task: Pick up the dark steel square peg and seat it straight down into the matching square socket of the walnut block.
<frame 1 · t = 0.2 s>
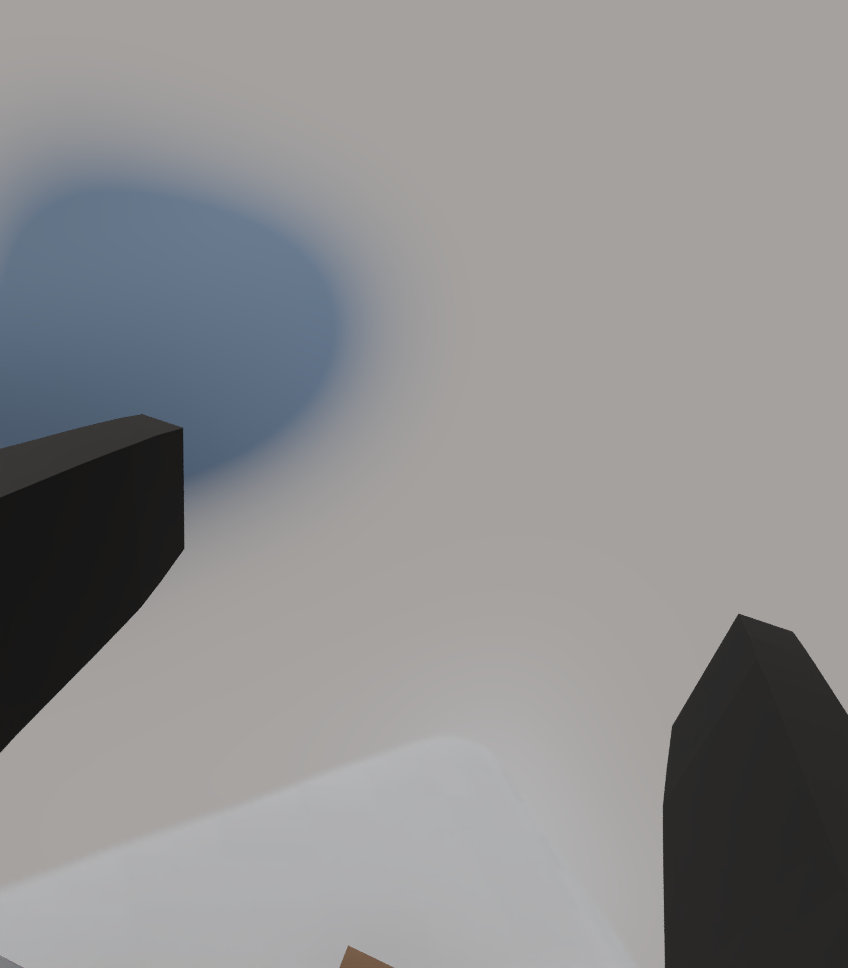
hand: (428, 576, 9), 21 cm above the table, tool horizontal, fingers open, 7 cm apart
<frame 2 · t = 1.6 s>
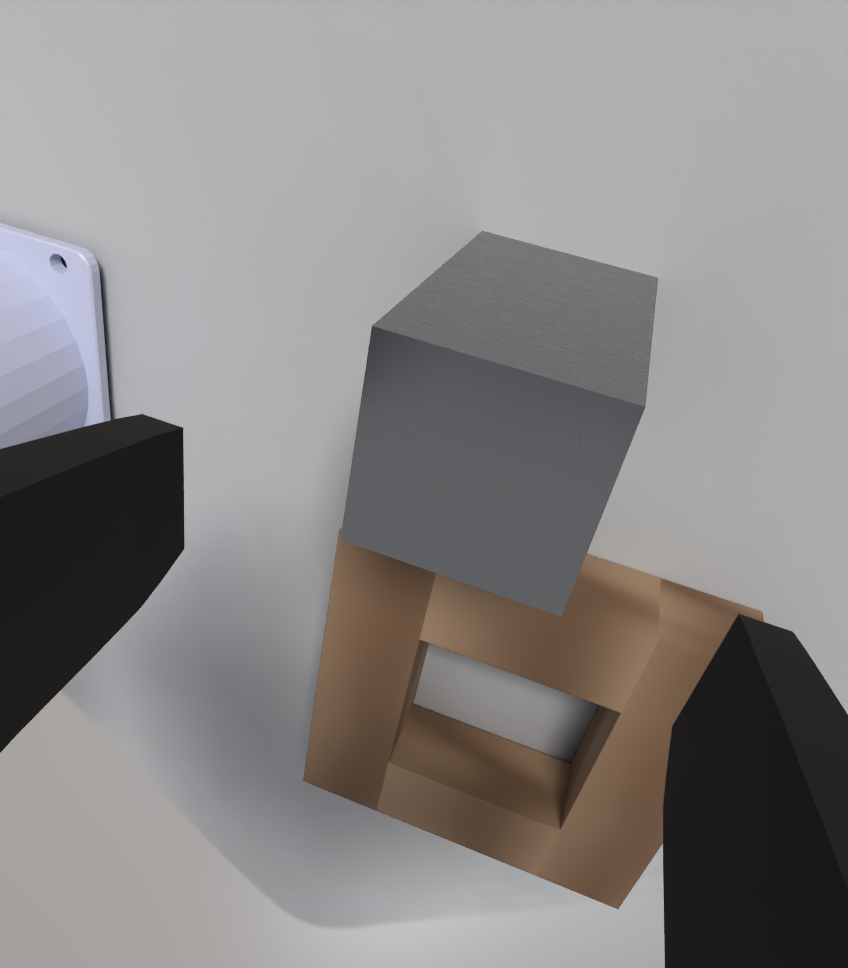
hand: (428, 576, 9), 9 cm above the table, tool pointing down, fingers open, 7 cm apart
peg: (543, 337, 17), on the table
socket block: (510, 678, 22), on the table
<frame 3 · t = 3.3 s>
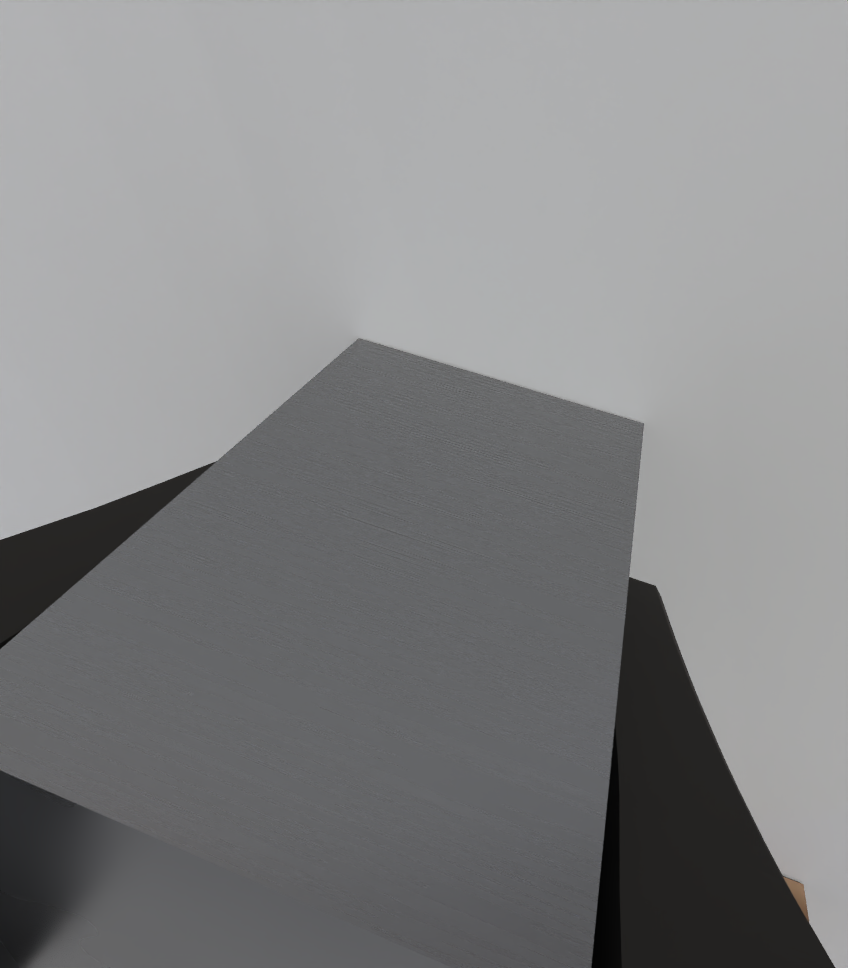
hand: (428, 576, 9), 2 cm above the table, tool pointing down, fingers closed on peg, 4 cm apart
peg: (465, 499, 11), on the table, touching gripper
socket block: (446, 910, 16), on the table
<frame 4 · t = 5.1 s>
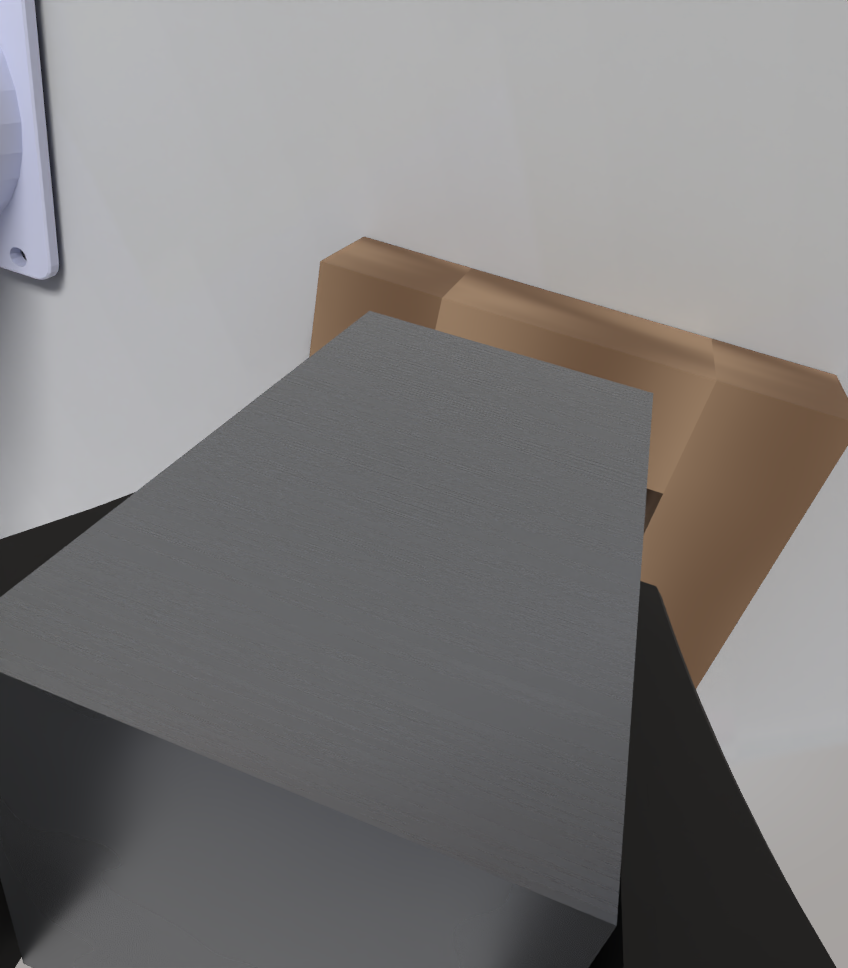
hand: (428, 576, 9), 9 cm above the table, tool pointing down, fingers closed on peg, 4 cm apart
peg: (474, 473, 11), point 7 cm above the table, touching gripper
socket block: (522, 497, 19), on the table
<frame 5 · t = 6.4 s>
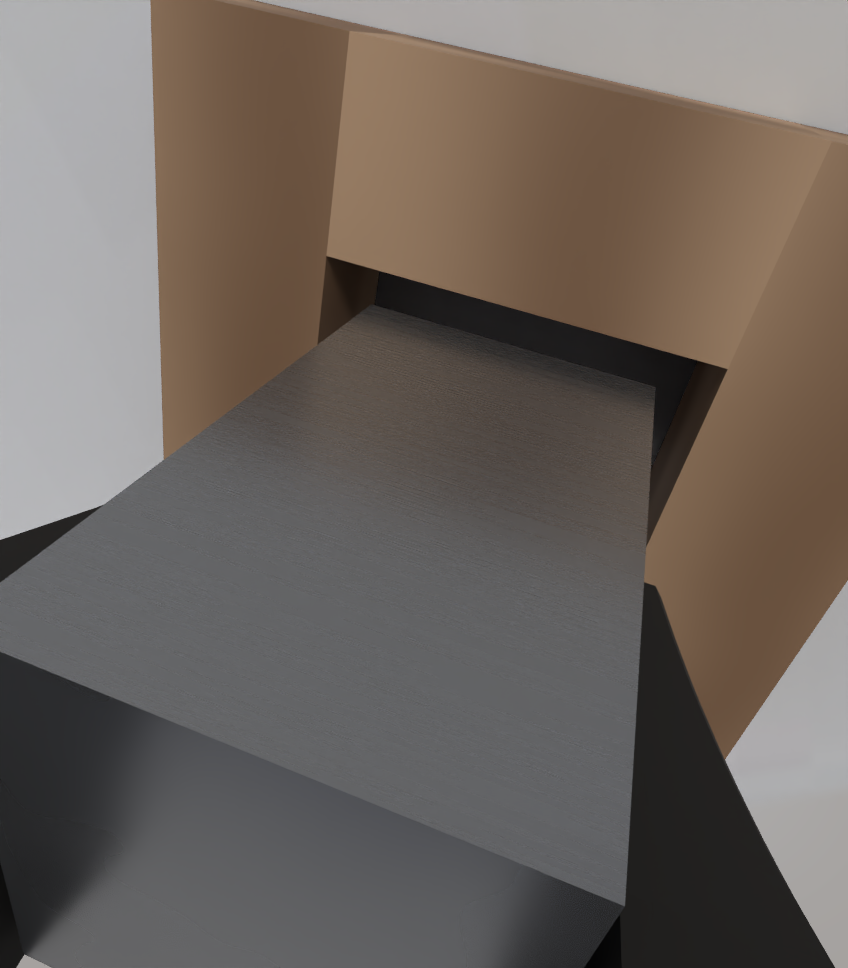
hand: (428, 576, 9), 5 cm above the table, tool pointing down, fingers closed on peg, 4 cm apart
peg: (476, 468, 11), point 3 cm above the table, touching gripper
socket block: (505, 414, 13), on the table
when the fingers open (4 cm above the table, at t = 7.2 s): peg drops 1 cm, resting in socket block.
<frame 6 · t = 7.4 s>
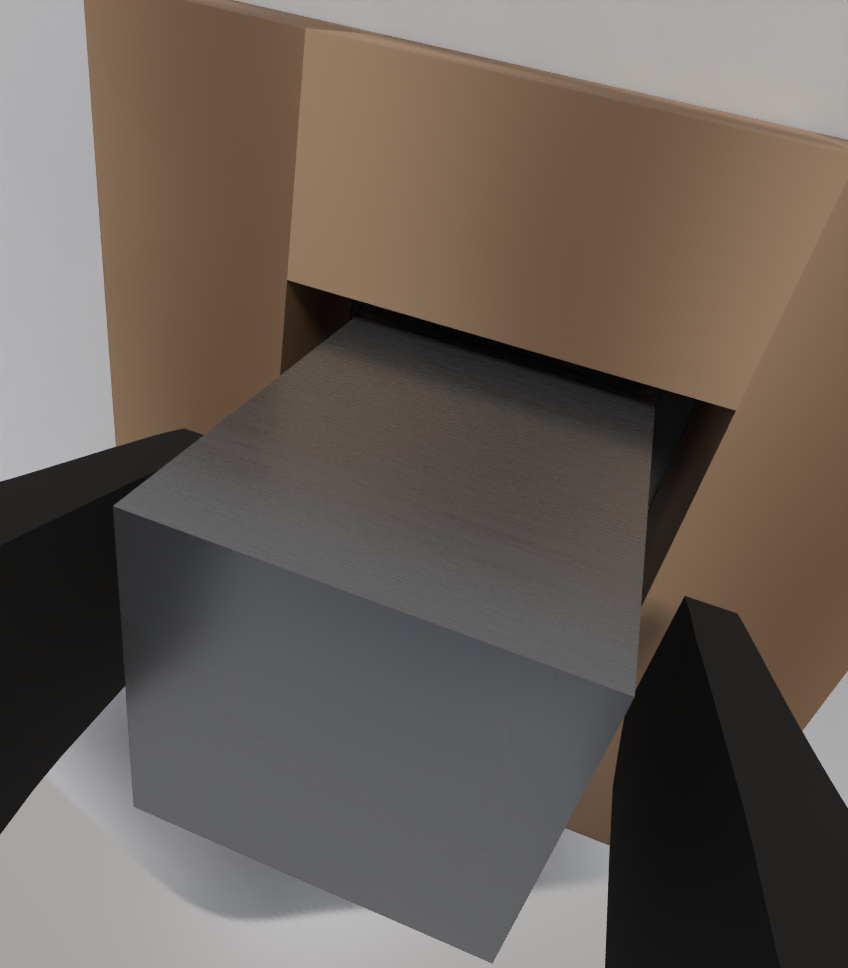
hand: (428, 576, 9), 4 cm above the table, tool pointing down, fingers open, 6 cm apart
peg: (497, 425, 12), resting in socket block
socket block: (491, 446, 12), on the table
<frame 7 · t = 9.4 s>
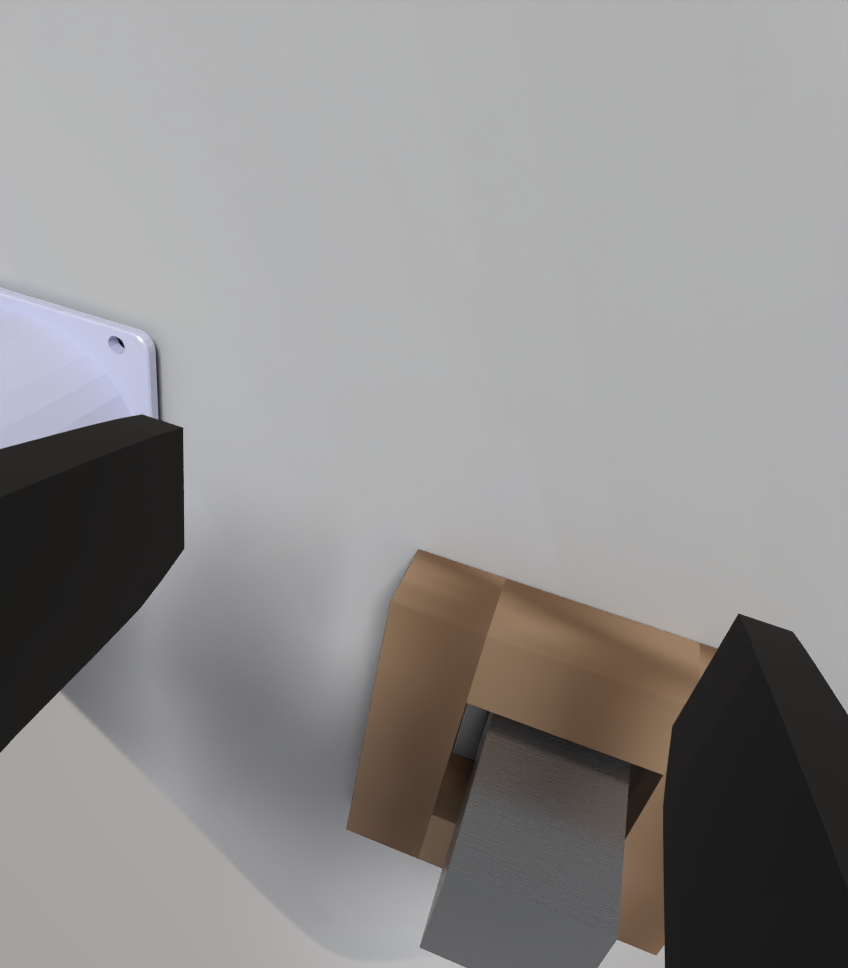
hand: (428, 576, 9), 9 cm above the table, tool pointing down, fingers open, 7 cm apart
peg: (552, 722, 23), resting in socket block
socket block: (549, 731, 23), on the table
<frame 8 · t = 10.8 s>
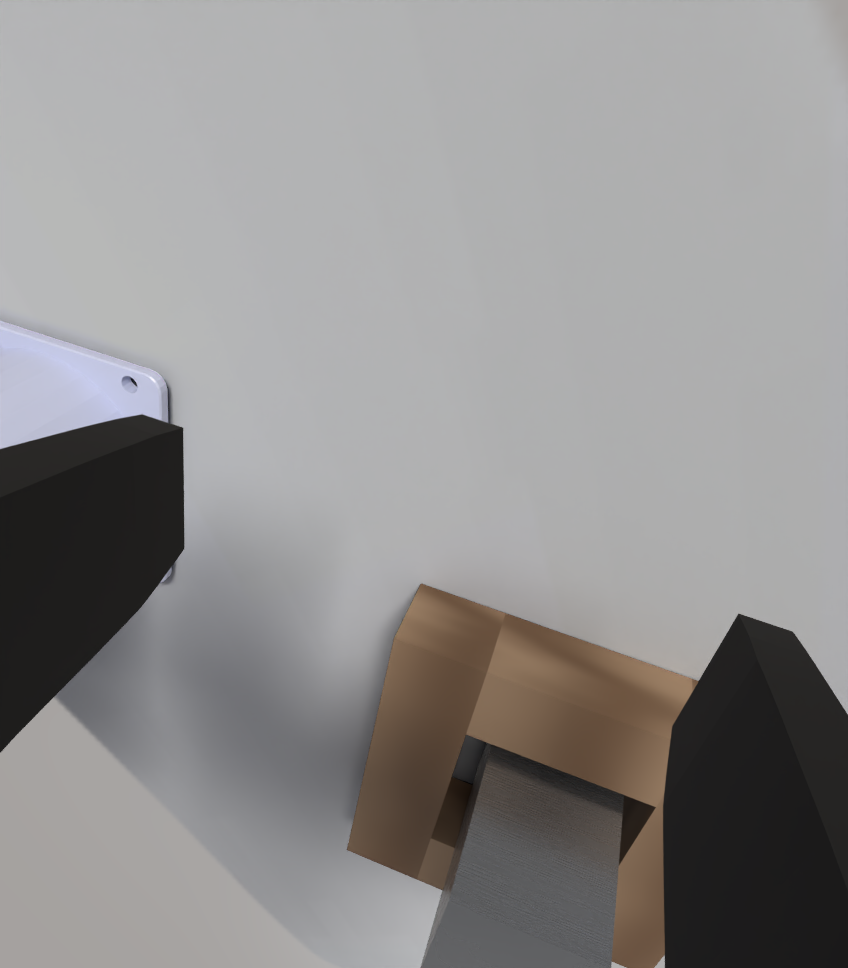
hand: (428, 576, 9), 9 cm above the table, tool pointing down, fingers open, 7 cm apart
peg: (549, 750, 24), resting in socket block
socket block: (545, 758, 24), on the table
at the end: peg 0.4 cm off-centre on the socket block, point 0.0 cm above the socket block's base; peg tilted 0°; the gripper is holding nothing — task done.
